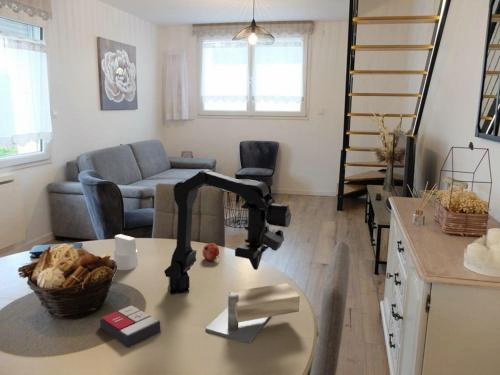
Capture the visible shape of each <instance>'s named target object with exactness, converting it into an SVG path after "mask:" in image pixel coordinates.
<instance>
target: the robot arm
mask: <svg viewBox="0 0 500 375" xmlns="http://www.w3.org/2000/svg"><path fill="white" fill-rule="evenodd" d="M204 185H206V186H207V185H208V186H211V187H214V188H217V189H221V190H224V191H227V192H229V193H234V194H236V195H238V196H239V197H240V198H241V199H243V200H244V201H245V202H244V203H243V205H241V209H246V210H247V225H244V230H245V231H247V237H246V238H245V239H244V243H242V244H241V245H239V246H237V247H236V248H235V249H234V256H235V257H238V258H242V259H247V260H249V262H250V264H251V267H252V269H253V270H255V271H257V270H258V269H259V267H260V264H261V259H262V257H263V254H264V252H266V250H268V249H271V251H274V252H275V251H276V252H277V251H278V249H280V248H281V246H282V243H283V242H284V241H285V236H284V231H283V230H281V229H278V230H276V231H274V230H273V231H272V230H270V227H269V226H275V227H282V228H289V227H290V224H291V219H292V213H291V209H290V205H289V204H286V203H284V204H281V203H276V200H275V199H274V197H273V196H272V194H271V193H270V189H269V187H268V184H266V183H265V182H263V181H257V180H241V179H237V178H233V177H231V176H227V175H225V174H221V173H218V172H215V171H212V170H210V169H203V170H200V171H199V172H197V173H196V174H195V175H194V176H191V177H190V178H188V179H185V180H181V181H179V182H176V183H175V184H174V185H173V190H172V191H173V198H174V199H173V200H174V202H175V203H176V205H177V221H176V224H177V226H176V246H175V249H174V250H173V254H172V255H171V260H170V265H169V266H168V267H167V268H166V269H165V270H164V275H165V277H167V278H168V285H167V288H168V292H169V293H170V295H176V294H183V293H189V292H190V288H191V287H190V286H191V285H190V276H189V273H188V271H190V270H191V267H192V266H193V265H194V264H195V262H196V261H197V258H196V257H197V250H196V249H193V248H192V245H191V243H192V242H191V241H192V227H193V226H192V223H193V220H192V219H193V208H194V207H193V206H194V204H195V202H196V200H197V197H198V193H199V189H201V188H202V187H203V186H204ZM245 243H248V244H245Z"/></svg>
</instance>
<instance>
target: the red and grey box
mask: <svg viewBox="0 0 500 375" xmlns="http://www.w3.org/2000/svg"><path fill="white" fill-rule="evenodd" d="M99 323H100V324H99V325H100V329H101V330H103V331H105V332H106V333H107V334H108V335H109V336H111V337H112V338H114V339H115V340H116V341H118V342H119V343H120V344H121V345H122V346H124V347H125V348H126V349H130V348H132V347H134V346H136V345H138V344H140V343H143V342H145V341H146V340H148V339H150V338H152V337H153V336H156V335H158V334H160V333H161V332H162V331H161V321H160V320H158V319H156V318H155V317H153V316H151V315H150V314H148V313H147V312H145V311H142V310H140V309H139V308H138V307H136V306H133V305H129V306H127V307H124V308H121V309H119V310H118V311H115V312H111V313H109V314H107V315H104V316H102V317H101V318H100V319H99Z"/></svg>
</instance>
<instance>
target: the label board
mask: <svg viewBox="0 0 500 375" xmlns="http://www.w3.org/2000/svg"><path fill="white" fill-rule="evenodd" d="M270 318H271V317H266V318H260V319H255V320H249V321H244V322H238V329H236V330H230V329H229V328H228V306H227V307H226V309H224V310H223V311H222V312H221V313H219V315H217V316H216V317H215V319H214V320H213V321H212V322H210V323H209V324H208V325H207V326H206V327H205V332H208V333H213V334H216V335H219V336H223V337H226V338H228V339H229V338H230V339H232V340H235V341H239V342H242V343H246V344H251V343H250V342H251V341H253V339H254V338H255V337H256V335H257V334H258V333H259V332H260V330H262V328H263V327H264V325H265V324H266V323H267V321H268V320H269V319H270Z"/></svg>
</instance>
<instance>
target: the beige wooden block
mask: <svg viewBox="0 0 500 375" xmlns="http://www.w3.org/2000/svg"><path fill="white" fill-rule="evenodd" d="M227 296H228V298H227V301H228V302H227V307H228V328H229V329H230V330H236V329H238V322H244V321H249V320H255V319H260V318H266V317H270V318H272V317H277V316H281V315H288V314H293V313H300V295H299V294H298V293H297V292H296V291H295V290H294V289H293V287H291V286H290V285H289V284H288V282H285V283H277V284H273V285H272V284H270V285H266V286H259V287H252V288H246V289H238V290H233V291H232V290H231V291H228V295H227Z"/></svg>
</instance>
